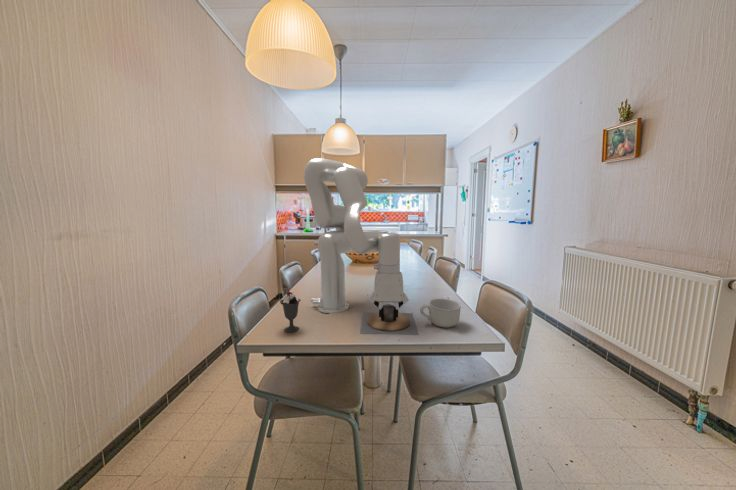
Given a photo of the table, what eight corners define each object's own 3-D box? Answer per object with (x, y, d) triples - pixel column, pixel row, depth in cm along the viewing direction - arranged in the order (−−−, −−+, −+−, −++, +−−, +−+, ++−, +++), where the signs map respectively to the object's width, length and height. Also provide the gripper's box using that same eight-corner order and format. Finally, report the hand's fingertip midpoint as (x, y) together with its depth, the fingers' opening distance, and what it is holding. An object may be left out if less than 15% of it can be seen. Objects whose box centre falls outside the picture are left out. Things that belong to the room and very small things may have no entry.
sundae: (284, 325, 101) (283, 283, 99) (303, 325, 100) (302, 283, 98) (278, 333, 94) (276, 289, 92) (298, 333, 94) (297, 289, 92)
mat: (359, 335, 93) (359, 333, 93) (363, 313, 112) (363, 312, 112) (418, 336, 92) (419, 334, 92) (412, 314, 111) (412, 313, 111)
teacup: (456, 319, 106) (457, 298, 105) (463, 332, 95) (464, 308, 94) (418, 318, 107) (418, 297, 106) (420, 330, 97) (421, 307, 96)
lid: (366, 331, 95) (366, 313, 94) (368, 314, 110) (368, 299, 109) (412, 331, 94) (412, 314, 93) (407, 314, 109) (407, 299, 108)
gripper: (364, 270, 96) (364, 323, 98) (414, 271, 95) (413, 323, 98) (365, 266, 103) (365, 315, 106) (411, 266, 103) (410, 315, 105)
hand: (388, 318), depth 102 cm, fingers closed on lid, 4 cm apart
